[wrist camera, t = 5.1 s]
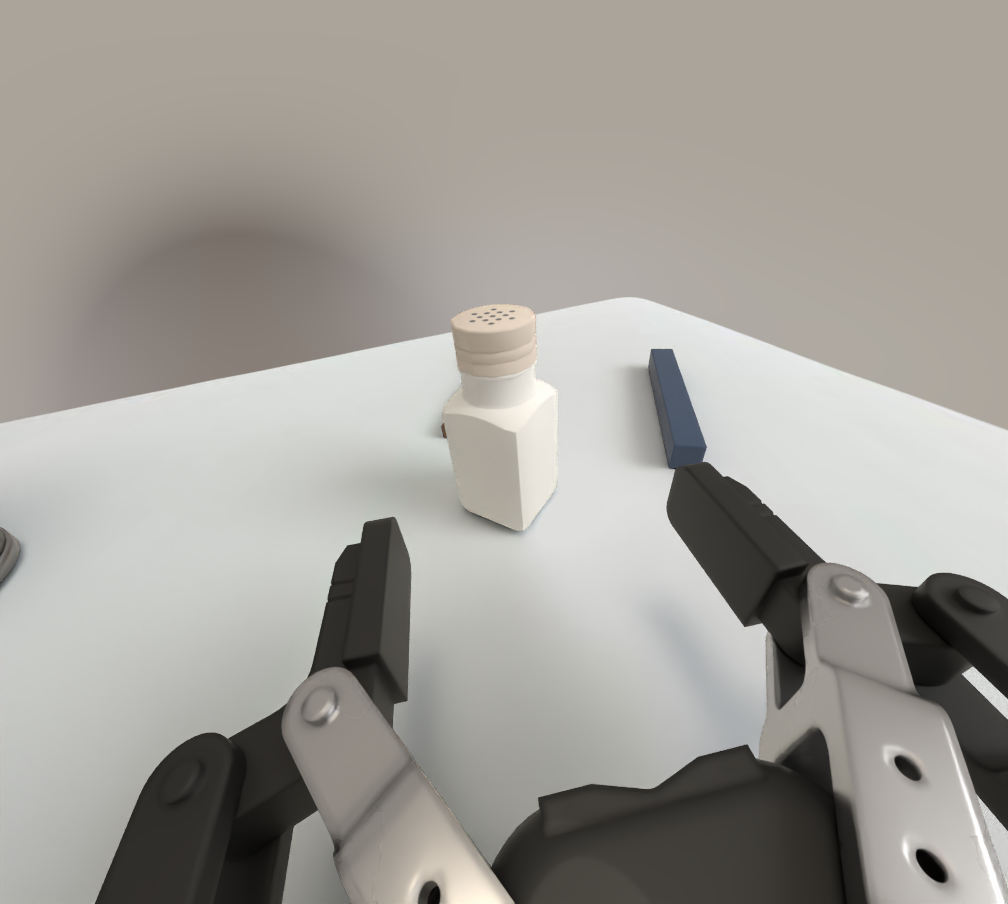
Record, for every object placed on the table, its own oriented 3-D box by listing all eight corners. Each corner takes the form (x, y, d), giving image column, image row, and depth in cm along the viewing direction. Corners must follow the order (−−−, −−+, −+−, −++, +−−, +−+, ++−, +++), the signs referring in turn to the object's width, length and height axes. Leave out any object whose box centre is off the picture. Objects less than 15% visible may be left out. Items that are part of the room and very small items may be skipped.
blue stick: (668, 468, 21) (674, 445, 20) (648, 367, 31) (651, 348, 30) (700, 470, 20) (707, 446, 19) (669, 367, 30) (672, 348, 29)
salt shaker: (561, 488, 20) (564, 305, 14) (525, 540, 18) (510, 341, 12) (498, 467, 22) (479, 297, 16) (457, 511, 19) (416, 328, 14)
